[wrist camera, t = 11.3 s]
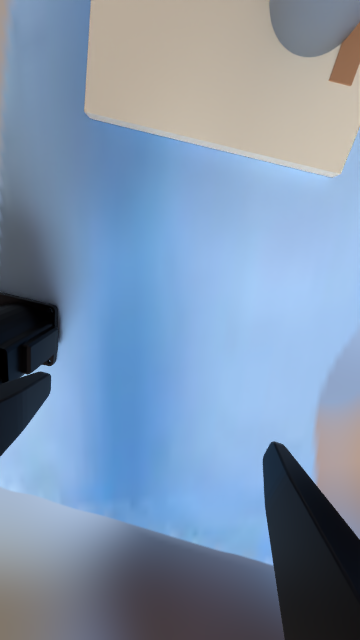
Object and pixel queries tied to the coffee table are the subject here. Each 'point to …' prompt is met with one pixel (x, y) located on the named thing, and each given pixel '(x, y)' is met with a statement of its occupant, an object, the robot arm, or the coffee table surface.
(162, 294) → the coffee table surface
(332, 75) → the board
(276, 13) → the grey rounded cylinder
